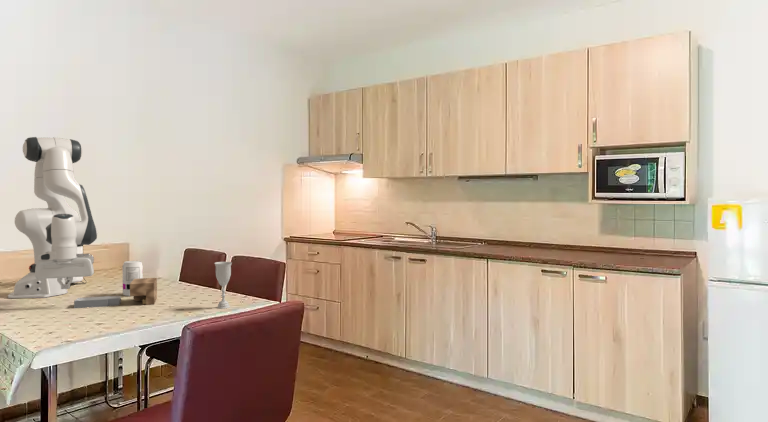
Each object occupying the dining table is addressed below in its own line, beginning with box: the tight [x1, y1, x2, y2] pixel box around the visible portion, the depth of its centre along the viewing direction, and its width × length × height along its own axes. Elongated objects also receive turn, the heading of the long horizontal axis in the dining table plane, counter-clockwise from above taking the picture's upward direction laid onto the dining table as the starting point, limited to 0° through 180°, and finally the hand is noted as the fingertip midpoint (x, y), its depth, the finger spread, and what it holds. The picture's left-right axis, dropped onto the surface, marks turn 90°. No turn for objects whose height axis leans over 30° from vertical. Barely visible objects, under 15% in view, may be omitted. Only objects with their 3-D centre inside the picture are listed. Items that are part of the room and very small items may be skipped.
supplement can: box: [122, 260, 144, 297], centre depth 239 cm, size 8×8×15 cm
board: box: [73, 295, 122, 309], centre depth 216 cm, size 16×7×3 cm, turn 109°
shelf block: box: [129, 277, 158, 306], centre depth 223 cm, size 9×14×9 cm, turn 19°
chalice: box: [214, 261, 233, 309], centre depth 213 cm, size 7×7×18 cm
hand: (65, 288), depth 211 cm, fingers closed
